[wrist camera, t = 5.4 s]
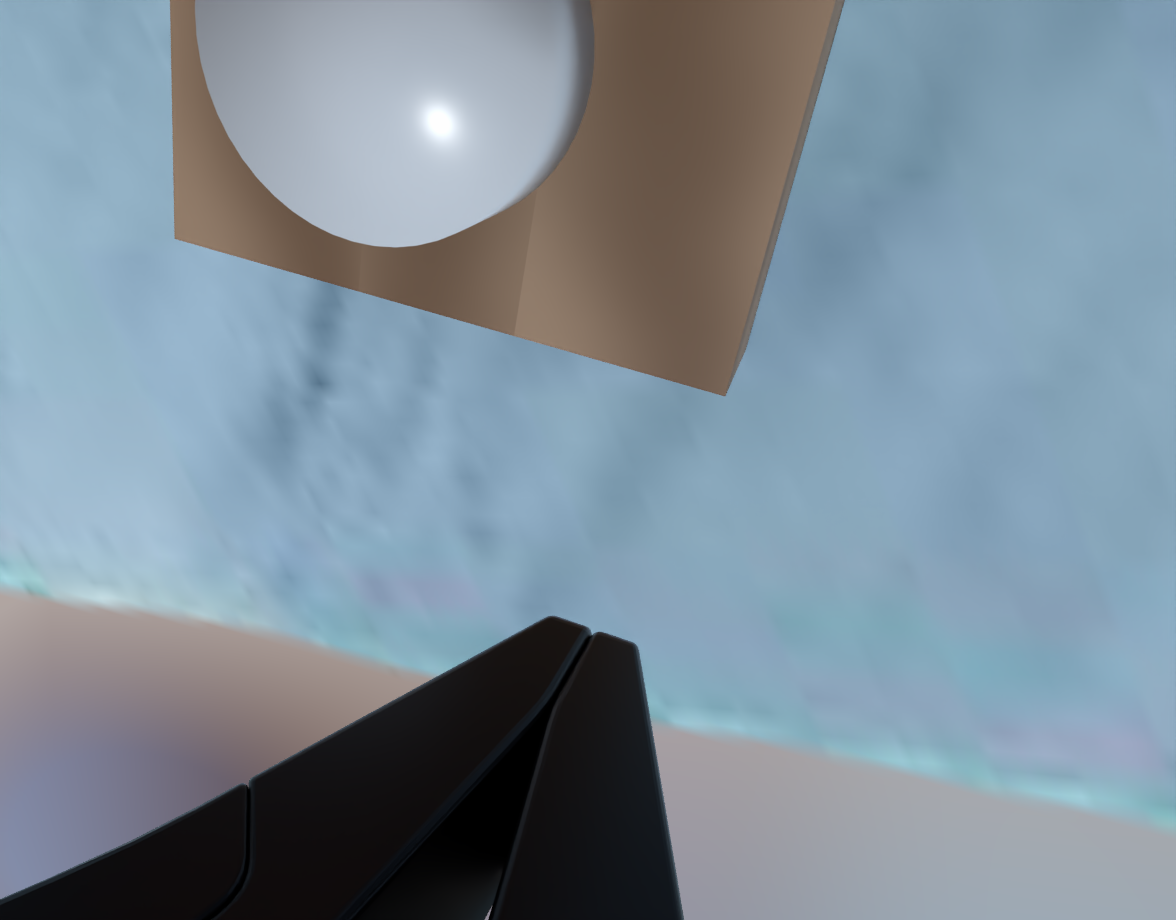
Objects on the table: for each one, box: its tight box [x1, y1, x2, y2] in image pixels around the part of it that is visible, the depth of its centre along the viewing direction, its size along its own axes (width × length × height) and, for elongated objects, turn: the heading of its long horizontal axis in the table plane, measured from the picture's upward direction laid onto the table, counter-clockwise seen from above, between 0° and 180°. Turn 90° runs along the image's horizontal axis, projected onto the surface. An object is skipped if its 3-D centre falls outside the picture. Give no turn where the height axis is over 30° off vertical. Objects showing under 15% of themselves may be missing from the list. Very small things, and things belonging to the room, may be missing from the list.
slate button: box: [195, 0, 594, 247], centre depth 15 cm, size 6×6×5 cm
